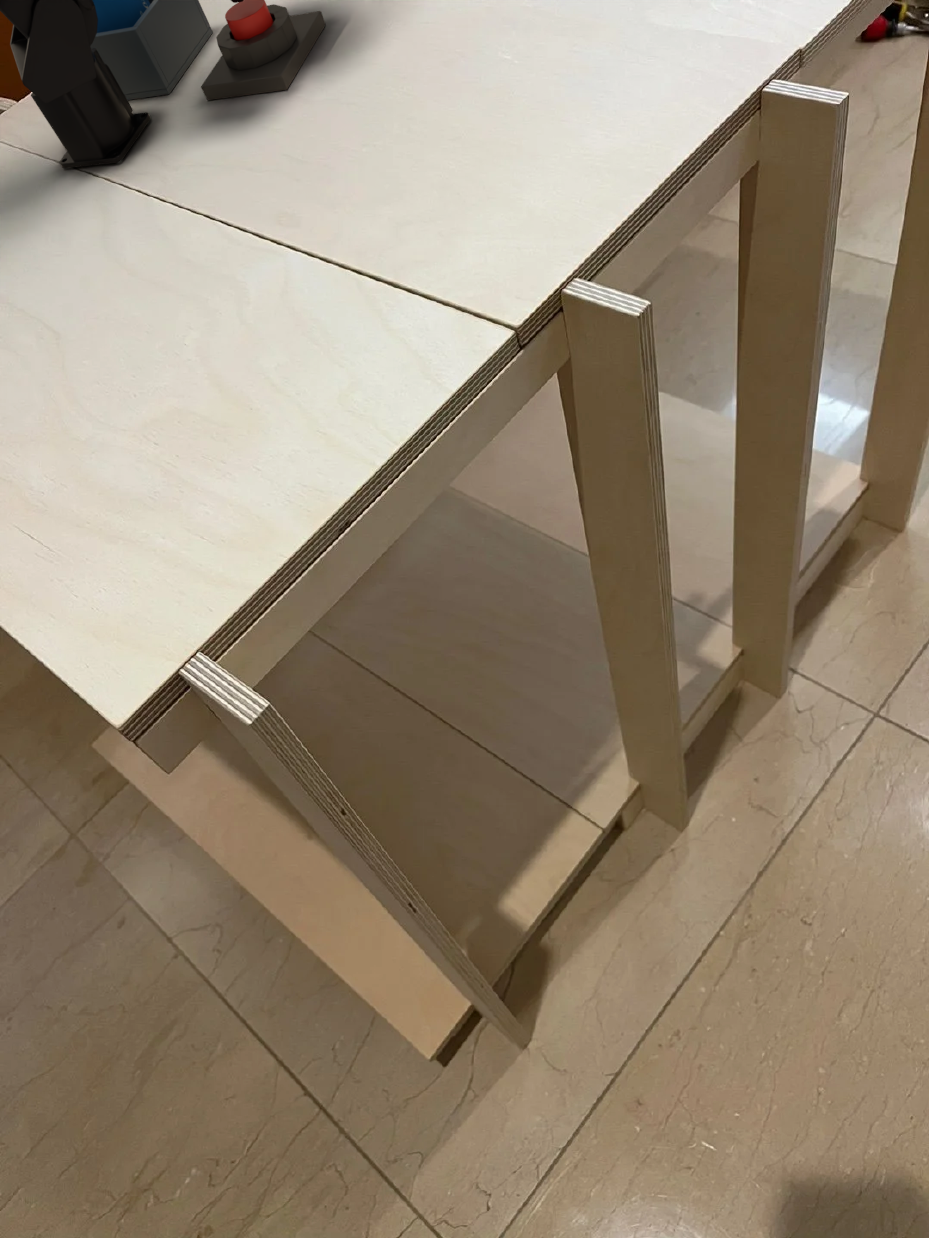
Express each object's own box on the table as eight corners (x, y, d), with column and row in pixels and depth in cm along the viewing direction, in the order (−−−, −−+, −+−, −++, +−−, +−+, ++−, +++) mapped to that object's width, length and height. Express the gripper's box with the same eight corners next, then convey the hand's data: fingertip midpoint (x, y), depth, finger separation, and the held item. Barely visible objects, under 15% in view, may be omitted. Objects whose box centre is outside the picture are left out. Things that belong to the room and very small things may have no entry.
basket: (169, 94, 80) (135, 29, 76) (79, 107, 84) (42, 45, 79) (213, 32, 85) (183, -33, 81) (126, 46, 89) (93, -15, 84)
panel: (287, 90, 75) (271, 53, 73) (207, 101, 78) (189, 65, 75) (326, 25, 80) (312, -13, 77) (249, 37, 82) (234, 1, 80)
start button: (264, 39, 75) (255, 17, 74) (228, 45, 76) (218, 23, 75) (279, 16, 77) (270, -6, 75) (243, 22, 78) (234, 0, 77)
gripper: (178, -216, 55) (285, 50, 68) (285, -327, 63) (362, -73, 76) (37, -176, 59) (163, 68, 71) (156, -286, 67) (249, -51, 80)
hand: (240, 0), depth 75 cm, fingers closed
